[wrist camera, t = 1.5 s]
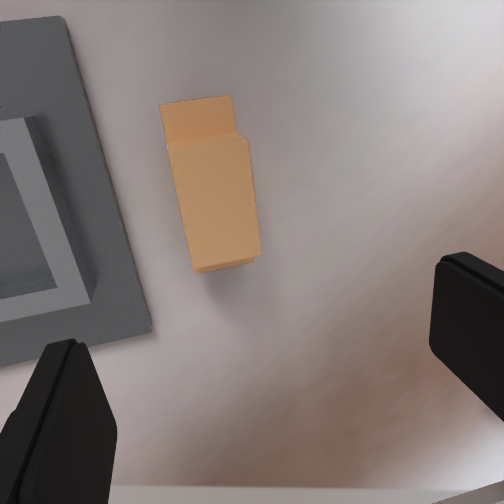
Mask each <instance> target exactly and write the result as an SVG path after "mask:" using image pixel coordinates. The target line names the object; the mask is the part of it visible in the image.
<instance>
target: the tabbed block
mask: <svg viewBox="0 0 504 504" xmlns="http://www.w3.org/2000/svg"><path fill="white" fill-rule="evenodd" d="M159 107H160V112H161V116H162V121H163V126H164V130H165V135H166V140H167V151H168V156H169V161H170V166H171V170H172V175H173V180H174V184H175V189H176V194H177V198H178V203H179V208H180V212H181V217H182V222H183V226H184V231H185V236H186V240H187V245H188V250H189V254H190V259H191V264H192V268H193V269H194V272H195V274H199V273H204V272H209V271H213V270H218V269H223V268H228V267H233V266H238V265H242V264H247V263H252V262H254V260H253V257H255V256H260V255H262V251H261V243H260V235H259V227H258V219H257V211H256V202H255V194H254V186H253V178H252V170H251V162H250V153H249V145H248V139H247V138H246V137H244V136H242V135H241V134H239V133H237V132H236V126H235V118H234V111H233V103H232V96H231V95H223V96H216V97H209V98H202V99H194V100H187V101H180V102H173V103H166V104H159Z"/></svg>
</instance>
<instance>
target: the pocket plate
mask: <svg viewBox="0 0 504 504" xmlns="http://www.w3.org/2000/svg"><path fill="white" fill-rule="evenodd" d="M150 332H152V323H151V319H150V316H149V312H148V309H147V305H146V302H145V298H144V295H143V291H142V288H141V284H140V281H139V277H138V274H137V270H136V267H135V263H134V260H133V256H132V253H131V249H130V246H129V242H128V239H127V235H126V232H125V229H124V225H123V222H122V218H121V215H120V211H119V208H118V204H117V201H116V197H115V194H114V190H113V187H112V183H111V180H110V176H109V173H108V169H107V166H106V162H105V159H104V155H103V152H102V148H101V145H100V141H99V138H98V135H97V131H96V128H95V124H94V121H93V117H92V114H91V110H90V107H89V103H88V100H87V96H86V93H85V89H84V86H83V82H82V79H81V75H80V72H79V68H78V65H77V61H76V58H75V54H74V51H73V47H72V44H71V41H70V37H69V34H68V30H67V27H66V23H65V20H64V18H62V17H61V16H52V17H42V18H33V19H23V20H13V21H4V22H0V366H4V365H8V364H13V363H17V362H21V361H26V360H30V359H35V358H39V357H41V355H42V353H43V351H44V349H45V347H46V345H47V344H49V343H53V342H58V341H62V340H67V339H71V338H74V339H75V340H76V341H77V342H78V343H81V342H84V343H85V344H86V346H87V347H88V346H92V345H97V344H101V343H106V342H110V341H114V340H119V339H123V338H128V337H132V336H136V335H141V334H145V333H150Z"/></svg>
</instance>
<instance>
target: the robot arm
mask: <svg viewBox="0 0 504 504" xmlns="http://www.w3.org/2000/svg"><path fill="white" fill-rule="evenodd" d="M429 345H430V348H431V350H432V352H433V353H434V355H435V356H436V357H437V358H438V359H439V360H441V361H442V362H443V363H444V364H445V365H446V366H447V367H448V368H449V369H450V370H451V371H452V372H453V373H454V374H455V375H456V376H457V377H458V378H459V379H460V380H461V381H462V382H463V383H464V384H465V385H466V386H467V387H468V388H469V389H470V390H471V391H473V392H474V393H475V394H476V395H477V396H478V397H479V398H480V399H481V400H482V401H483V402H484V403H485V404H486V405H487V406H488V407H489V408H490V409H491V410H492V411H493V412H494V413H495V414H496V415H497V416H498V417H499V418H500V419H501V420H502V421H504V271H502V270H500V269H498V268H496V267H495V266H493V265H491V264H489V263H487V262H485V261H483V260H481V259H479V258H477V257H475V256H474V255H472V254H470V253H467V252H459V253H455V254H450V255H446V256H443V257H442V258H441V259H440V262H439V263H437V265H436V268H435V278H434V289H433V300H432V312H431V323H430V334H429ZM116 443H117V426H116V422H115V419H114V416H113V414H112V411H111V408H110V406H109V403H108V400H107V398H106V395H105V393H104V390H103V387H102V385H101V382H100V380H99V377H98V374H97V372H96V369H95V367H94V364H93V361H92V359H91V356H90V353H89V351H88V348H87V346H86V344H85V343H84V342H81V343H78V342H77V341H76V340H75V339H74V338H71V339H67V340H62V341H58V342H53V343H49V344H47V345H46V347H45V349H44V351H43V353H42V355H41V357H40V359H39V361H38V363H37V365H36V368H35V370H34V372H33V374H32V376H31V378H30V380H29V382H28V384H27V387H26V389H25V391H24V393H23V395H22V397H21V399H20V401H19V403H18V405H17V408H16V410H14V411H13V412H12V413H11V414H10V416H9V417H8V419H7V421H6V423H5V425H4V427H3V429H2V431H1V433H0V504H108V499H109V492H110V485H111V478H112V471H113V464H114V457H115V450H116ZM433 504H504V481H501V482H497V483H494V484H491V485H488V486H485V487H482V488H479V489H476V490H473V491H470V492H467V493H464V494H460V495H458V496H454V497H451V498H448V499H445V500H442V501H439V502H436V503H433Z"/></svg>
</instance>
